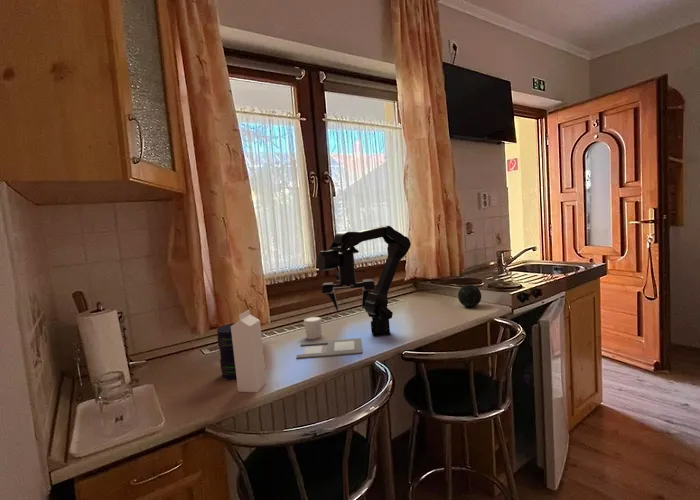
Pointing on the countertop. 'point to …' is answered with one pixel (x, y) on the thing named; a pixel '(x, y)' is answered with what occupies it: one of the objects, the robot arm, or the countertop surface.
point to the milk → (248, 353)
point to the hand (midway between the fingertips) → (350, 309)
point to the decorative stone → (469, 295)
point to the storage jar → (226, 352)
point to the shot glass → (313, 327)
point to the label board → (332, 348)
